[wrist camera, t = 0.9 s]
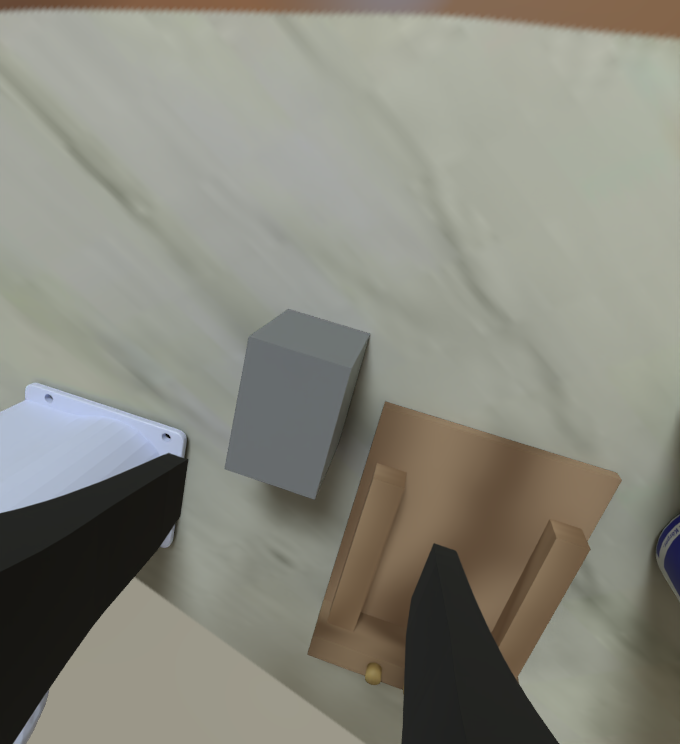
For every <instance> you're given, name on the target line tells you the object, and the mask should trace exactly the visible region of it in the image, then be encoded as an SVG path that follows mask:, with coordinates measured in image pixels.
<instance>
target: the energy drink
mask: <svg viewBox="0 0 680 744" xmlns="http://www.w3.org/2000/svg"><path fill="white" fill-rule="evenodd" d="M656 559H657V563H658V566H659V568H660V570H661V572H662V574H663V575H664V577H665V579H666V580H667V582H668V584H669V585H670V587H671V589H672V590H673V592H674V594H675V595H676V597H677V599H678V600H679V602H680V514H679V515H677V516H676V517H675V518H673V519H672V520H671V522H670V523H669V524H668V525H667V526H666V527H665V528H664V530H663V531H662V533H661V535H660V536H659V539H658V543H657V546H656Z"/></svg>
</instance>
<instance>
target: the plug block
mask: <svg viewBox="0 0 680 744" xmlns="http://www.w3.org/2000/svg"><path fill="white" fill-rule="evenodd" d="M369 336H370V333H367V332H363V331H360V330H357V329H353V328H350V327H347V326H343V325H340V324H337V323H333V322H330V321H327V320H324V319H320V318H317V317H314V316H310V315H307V314H304V313H300V312H297V311H294V310H290V309H288V310H286V311H285V312H283V313H282V314H280V315H279V316H277V317H276V318H275V319H273V320H272V321H270V322H269V323H267V324H266V325H265V326H263V327H262V328H260V329H259V330H257V331H256V332H254V333H253V334H252V335H250V336H249V338H248V344H247V349H246V355H245V360H244V366H243V371H242V376H241V382H240V387H239V393H238V398H237V404H236V409H235V414H234V420H233V425H232V431H231V436H230V442H229V447H228V452H227V458H226V463H225V469H226V470H229V471H232V472H235V473H238V474H241V475H244V476H247V477H250V478H253V479H255V480H258V481H261V482H264V483H267V484H270V485H273V486H276V487H279V488H282V489H285V490H288V491H291V492H294V493H296V494H299V495H302V496H305V497H308V498H311V499H314V500H315V498H316V496H317V493H318V491H319V489H320V486H321V484H322V482H323V479H324V477H325V475H326V472H327V470H328V467H329V465H330V463H331V460H332V458H333V456H334V453H335V451H336V449H337V446H338V444H339V441H340V437H341V434H342V430H343V427H344V423H345V420H346V416H347V413H348V409H349V406H350V402H351V399H352V395H353V392H354V388H355V385H356V381H357V378H358V375H359V371H360V368H361V364H362V361H363V357H364V354H365V350H366V347H367V343H368V340H369Z"/></svg>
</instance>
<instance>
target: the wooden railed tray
mask: <svg viewBox="0 0 680 744" xmlns="http://www.w3.org/2000/svg"><path fill="white" fill-rule="evenodd" d="M621 481H622V480H621V478H620V477H619V475H618V474H617V473H615V472H612V471H609V470H605V469H602V468H599V467H596V466H592V465H589V464H586V463H583V462H579V461H576V460H573V459H570V458H567V457H563V456H560V455H557V454H554V453H550V452H547V451H544V450H541V449H537V448H534V447H531V446H528V445H524V444H521V443H518V442H515V441H512V440H508V439H505V438H502V437H499V436H495V435H492V434H489V433H486V432H482V431H479V430H476V429H473V428H469V427H466V426H463V425H460V424H456V423H453V422H450V421H447V420H444V419H440V418H437V417H434V416H431V415H427V414H424V413H421V412H418V411H414V410H411V409H408V408H405V407H401V406H398V405H395V404H392V403H389V402H385V404H384V407H383V410H382V413H381V416H380V420H379V423H378V426H377V429H376V433H375V436H374V439H373V442H372V445H371V449H370V452H369V455H368V458H367V462H366V465H365V468H364V471H363V474H362V478H361V481H360V484H359V487H358V491H357V494H356V497H355V500H354V503H353V507H352V510H351V513H350V516H349V519H348V523H347V526H346V529H345V532H344V536H343V539H342V542H341V545H340V548H339V552H338V555H337V558H336V561H335V565H334V568H333V571H332V574H331V577H330V581H329V584H328V587H327V590H326V594H325V597H324V600H323V603H322V606H321V610H320V613H319V616H318V620H317V623H316V627H315V630H314V633H313V637H312V640H311V644H310V647H309V650H308V654H307V655H310V656H313V657H316V658H318V659H321V660H324V661H326V662H329V663H332V664H334V665H337V666H340V667H343V668H345V669H348V670H351V671H353V672H356V673H359V674H361V675H364V676H365V680H366V681H367V682H368V683H369V684H371V685H378V684H379V683H380V682H383V683H386V684H389V685H391V686H394V687H397V688H399V689H402V690H403V694H404V672H405V644H406V631H407V624H408V617H409V610H410V604H411V598H412V595H413V593H414V590H415V588H416V585H417V583H418V580H419V578H420V576H421V573H422V571H423V568H424V566H425V563H426V561H427V558H428V556H429V553H430V551H431V549H432V546H433V544H434V543H435V544H438V545H441V546H444V547H447V548H450V549H453V550H456V552H457V554H458V556H459V558H460V561H461V564H462V566H463V569H464V572H465V574H466V577H467V579H468V582H469V584H470V587H471V589H472V592H473V594H474V596H475V599H476V601H477V603H478V606H479V608H480V610H481V612H482V615H483V617H484V619H485V621H486V623H487V626H488V628H489V630H490V632H491V634H492V636H493V638H494V640H495V642H496V644H497V646H498V648H499V650H500V651H501V653H502V655H503V657H504V659H505V661H506V663H507V665H508V666H509V668H510V670H511V672H512V673H513V675H514V677H515V678H516V680H517V682H518V683H519V681H518V675H519V673H520V672H521V670H522V668H523V666H524V665H525V663H526V661H527V659H528V658H529V656H530V654H531V652H532V651H533V649H534V647H535V645H536V644H537V642H538V640H539V638H540V637H541V635H542V633H543V631H544V630H545V628H546V626H547V624H548V623H549V621H550V619H551V617H552V616H553V614H554V612H555V610H556V609H557V607H558V605H559V603H560V602H561V600H562V598H563V596H564V595H565V593H566V591H567V589H568V588H569V586H570V584H571V582H572V581H573V579H574V577H575V575H576V574H577V572H578V570H579V568H580V567H581V565H582V563H583V561H584V560H585V558H586V556H587V554H588V553H589V551H590V547H589V545H588V542H587V541H588V539H589V538H590V536H591V534H592V532H593V530H594V529H595V527H596V525H597V523H598V522H599V520H600V518H601V516H602V515H603V513H604V511H605V509H606V507H607V506H608V504H609V502H610V500H611V499H612V497H613V495H614V493H615V491H616V490H617V488H618V486H619V484H620V483H621Z"/></svg>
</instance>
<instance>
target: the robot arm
mask: <svg viewBox="0 0 680 744" xmlns="http://www.w3.org/2000/svg"><path fill="white" fill-rule="evenodd" d="M50 395H51V396H52V398H53V399H52V398H51V397H50ZM166 433H167V434H169V436H170V437H171V439H170V438H168V437H167V436H166ZM186 442H187V438H186V435H185V434H184V432H183V431H181V430H179V429H176V428H173V427H170V426H167V425H164V424H161V423H158V422H155V421H152V420H149V419H145V418H142V417H139V416H136V415H133V414H130V413H127V412H124V411H121V410H118V409H115V408H112V407H109V406H106V405H103V404H100V403H97V402H94V401H91V400H88V399H85V398H82V397H79V396H76V395H73V394H70V393H67V392H64V391H61V390H58V389H54V388H51V387H48V386H45V385H42V384H39V383H32V384H29V385H27V387H26V389H25V400H24V401H22V402H20V403H18V404H16V405H14V406H12V407H10V408H8V409H5V410H3V411H1V412H0V744H26V743H27V741H28V740H29V738H30V736H31V734H32V732H33V730H34V728H35V726H36V724H37V722H38V719H39V718H40V715H41V713H42V711H43V709H44V707H45V704H46V700H47V697H48V693H49V688H50V687H51V685H52V684H53V682H54V681H55V679H56V678H57V676H58V675H59V673H60V672H61V671H62V669H63V668H64V666H65V665H66V663H67V662H68V660H69V659H70V657H71V656H72V655H73V653H74V652H75V651H76V649H77V647H78V646H79V645H80V643H81V642H82V640H83V639H84V638H85V636H86V635H87V633H88V632H89V631H90V629H91V628H92V627H93V625H94V624H95V623H96V622H97V620H98V619H99V618H100V616H101V615H102V614H103V613H104V611H105V610H106V609H107V608H108V607H109V606H110V604H111V603H112V602H113V601H114V600H115V599H116V597H117V596H118V595H119V594H120V593H121V591H123V589H124V588H125V587H126V586H127V585H128V584H129V582H130V581H131V580H132V579H133V578H134V577H135V575H136V574H137V573H138V572H139V571H140V570H141V568H142V567H143V566H144V565H145V564H146V563H147V561H148V560H149V559H150V558H151V557H152V555H153V554H154V553H155V552H156V551H157V550H158V548H159V547H163V548H167V547H169V546H170V544H171V543H172V541H173V537H174V529H175V523H176V522H177V520H178V519H179V517H180V514H181V507H182V500H183V492H184V485H185V478H186V471H187V463H188V459H185V458H184V456H185V449H186ZM402 744H559V743H558V741H557V740H556V739H555V737H554V736H553V734H552V733H551V732H550V730H549V729H548V727H547V726H546V724H545V723H544V722H543V720H542V719H541V717H540V716H539V714H538V713H537V712H536V710H535V709H534V707H533V705H532V704H531V702H530V701H529V699H528V698H527V696H526V695H525V693H524V691H523V690H522V688H521V687H520V685H519V683H518V682H517V680H516V678H515V677H514V675H513V673H512V672H511V670H510V668H509V666H508V665H507V663H506V661H505V659H504V657H503V655H502V653H501V651H500V650H499V648H498V646H497V644H496V642H495V640H494V638H493V636H492V634H491V632H490V630H489V628H488V626H487V623H486V621H485V619H484V617H483V615H482V612H481V610H480V608H479V606H478V603H477V601H476V599H475V596H474V594H473V592H472V589H471V587H470V584H469V582H468V579H467V577H466V574H465V572H464V569H463V566H462V564H461V561H460V558H459V556H458V554H457V552H456V550H453V549H450V548H447V547H444V546H441V545H438V544H435V543H434V544H433V546H432V549H431V551H430V553H429V556H428V558H427V561H426V563H425V566H424V568H423V571H422V573H421V576H420V578H419V580H418V583H417V585H416V588H415V590H414V593H413V595H412V598H411V604H410V610H409V617H408V624H407V631H406V644H405V672H404V705H403V731H402Z"/></svg>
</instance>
